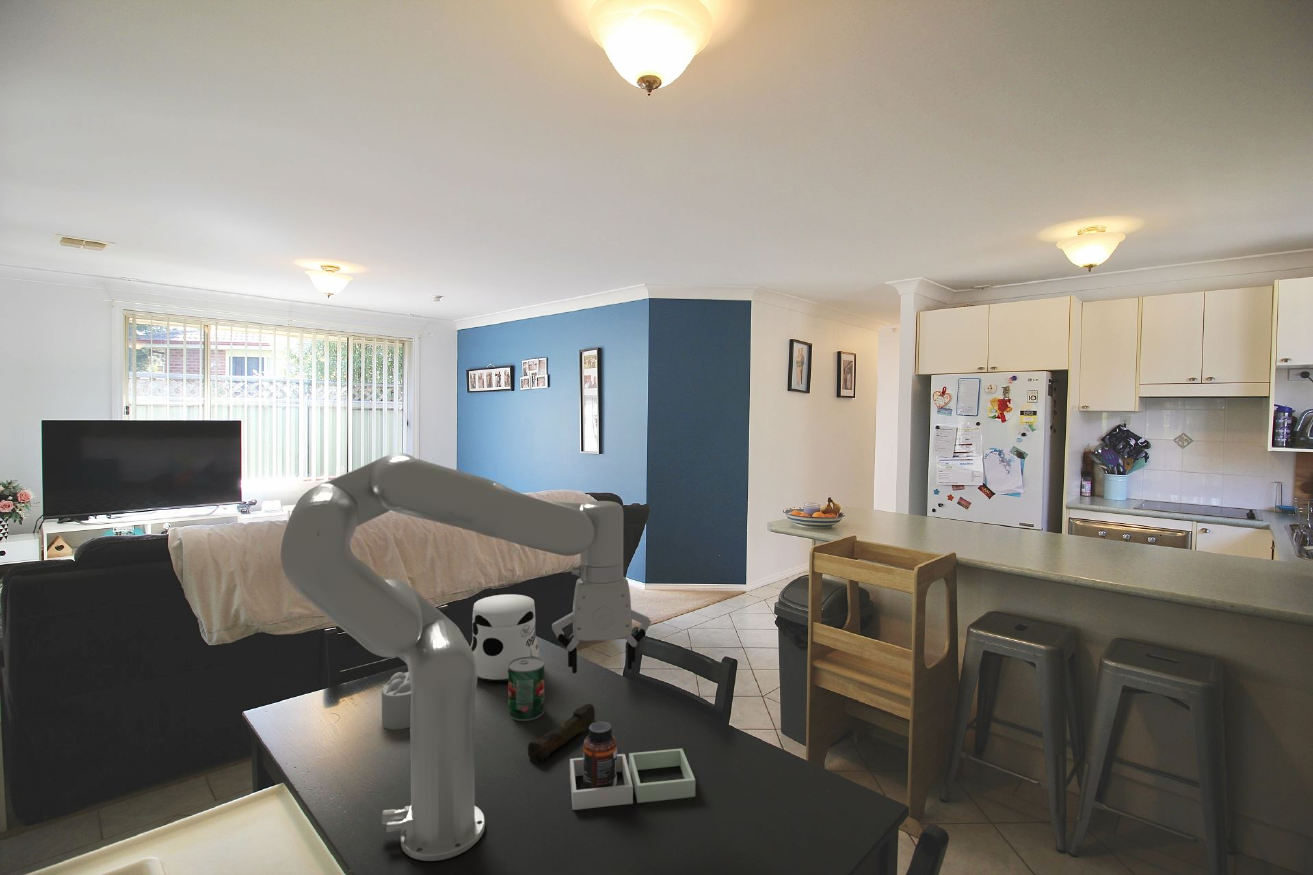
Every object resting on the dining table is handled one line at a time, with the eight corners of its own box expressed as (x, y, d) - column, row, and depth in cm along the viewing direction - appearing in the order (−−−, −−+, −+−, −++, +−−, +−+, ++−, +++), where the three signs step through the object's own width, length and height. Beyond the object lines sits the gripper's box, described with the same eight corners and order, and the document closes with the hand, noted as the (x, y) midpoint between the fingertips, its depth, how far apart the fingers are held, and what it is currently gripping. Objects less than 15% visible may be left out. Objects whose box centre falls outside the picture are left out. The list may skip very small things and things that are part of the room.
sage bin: (637, 802, 106) (637, 785, 106) (629, 768, 116) (629, 753, 116) (695, 796, 108) (695, 779, 108) (681, 763, 118) (682, 748, 118)
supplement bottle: (623, 788, 110) (624, 726, 110) (598, 803, 106) (599, 739, 105) (601, 774, 114) (601, 714, 114) (576, 788, 110) (576, 726, 109)
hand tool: (541, 767, 117) (542, 743, 117) (526, 760, 119) (526, 736, 119) (604, 725, 133) (604, 704, 132) (589, 719, 135) (590, 699, 135)
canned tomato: (550, 714, 136) (550, 665, 136) (516, 724, 132) (516, 674, 131) (535, 700, 143) (535, 653, 142) (502, 709, 138) (502, 661, 138)
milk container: (552, 672, 158) (552, 603, 157) (492, 694, 146) (492, 619, 145) (514, 653, 170) (514, 589, 169) (455, 672, 158) (455, 602, 157)
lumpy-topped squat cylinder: (449, 706, 140) (449, 668, 139) (406, 734, 128) (406, 693, 127) (413, 698, 144) (413, 661, 143) (368, 724, 132) (368, 684, 131)
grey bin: (572, 809, 104) (572, 792, 104) (569, 774, 114) (569, 758, 114) (632, 803, 106) (632, 786, 106) (624, 769, 116) (624, 753, 116)
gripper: (552, 580, 103) (552, 681, 104) (654, 575, 106) (653, 673, 107) (551, 569, 110) (551, 663, 111) (646, 565, 114) (646, 656, 114)
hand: (601, 668), depth 109 cm, fingers open, 9 cm apart
